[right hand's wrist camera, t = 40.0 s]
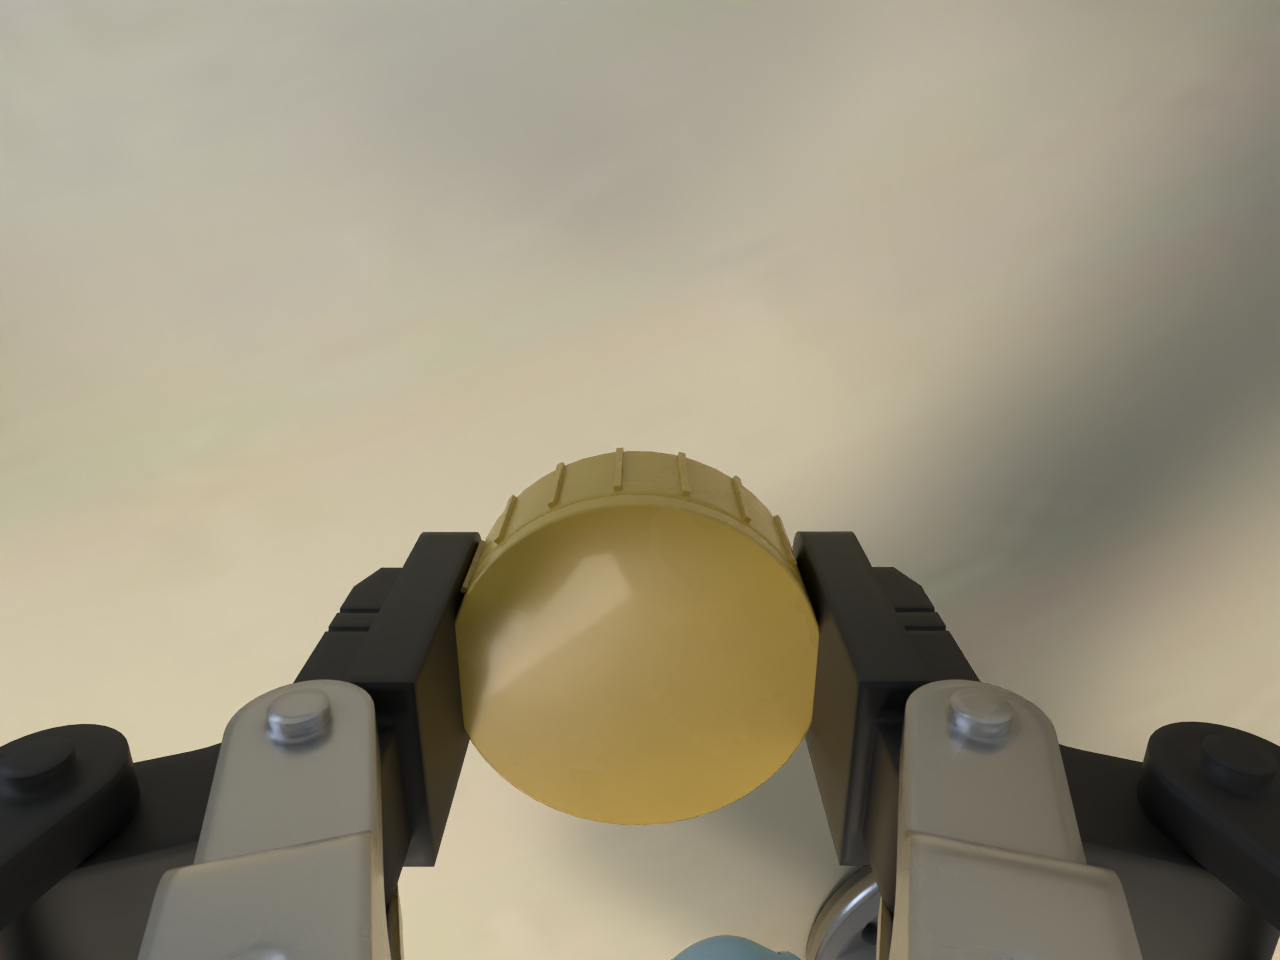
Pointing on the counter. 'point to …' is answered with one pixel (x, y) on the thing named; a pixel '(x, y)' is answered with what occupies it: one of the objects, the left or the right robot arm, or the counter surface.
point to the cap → (636, 641)
